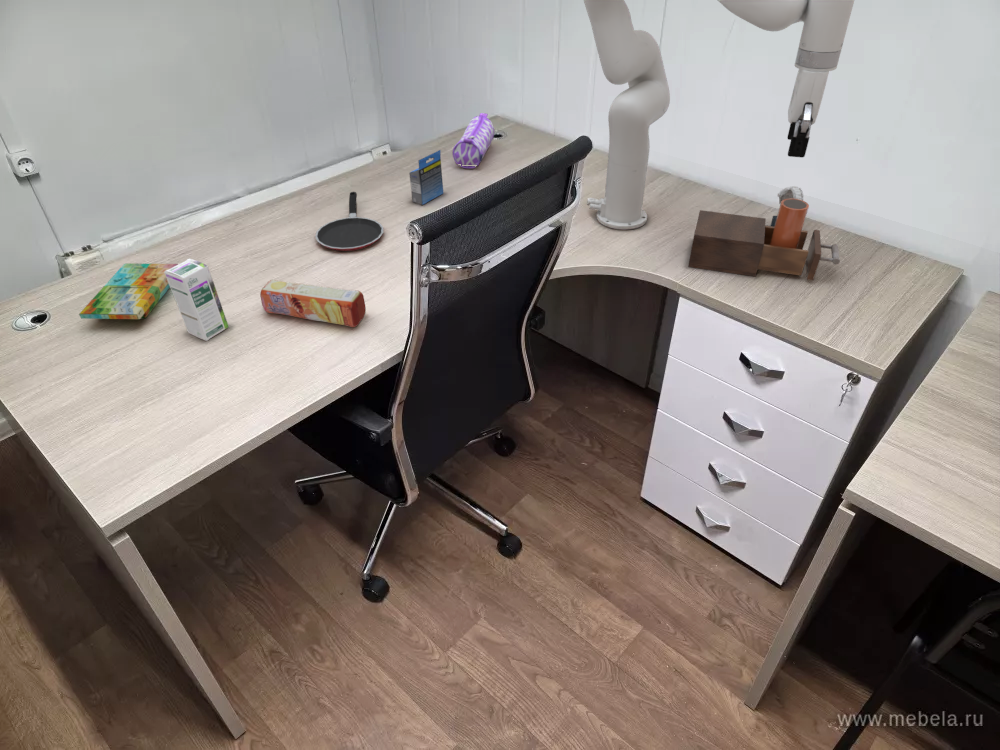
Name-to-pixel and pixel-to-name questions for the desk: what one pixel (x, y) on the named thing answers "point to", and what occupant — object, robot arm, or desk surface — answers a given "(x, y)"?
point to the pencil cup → (789, 223)
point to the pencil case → (474, 142)
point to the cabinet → (727, 243)
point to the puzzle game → (129, 293)
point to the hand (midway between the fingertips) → (795, 147)
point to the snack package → (314, 302)
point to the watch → (788, 197)
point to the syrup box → (197, 299)
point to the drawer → (795, 255)
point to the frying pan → (349, 231)
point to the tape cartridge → (427, 179)
